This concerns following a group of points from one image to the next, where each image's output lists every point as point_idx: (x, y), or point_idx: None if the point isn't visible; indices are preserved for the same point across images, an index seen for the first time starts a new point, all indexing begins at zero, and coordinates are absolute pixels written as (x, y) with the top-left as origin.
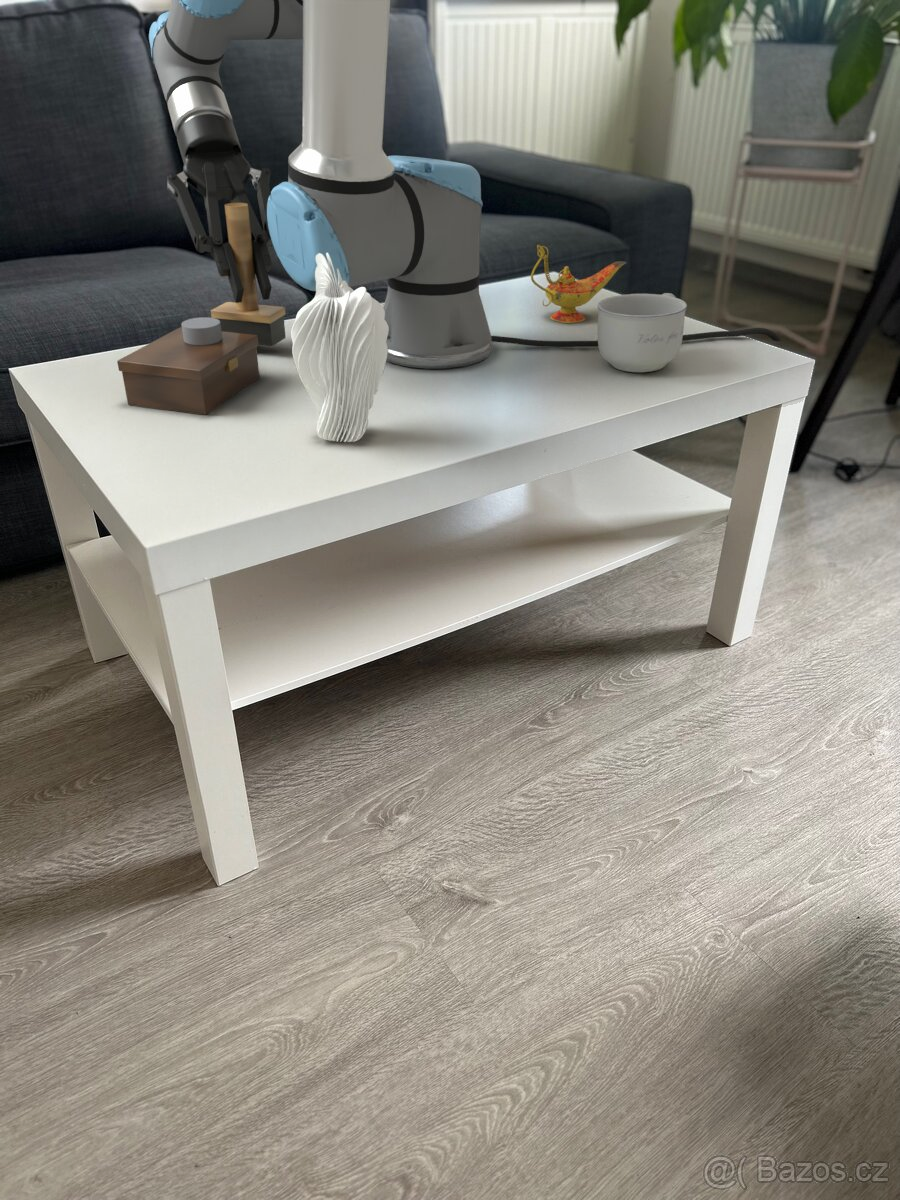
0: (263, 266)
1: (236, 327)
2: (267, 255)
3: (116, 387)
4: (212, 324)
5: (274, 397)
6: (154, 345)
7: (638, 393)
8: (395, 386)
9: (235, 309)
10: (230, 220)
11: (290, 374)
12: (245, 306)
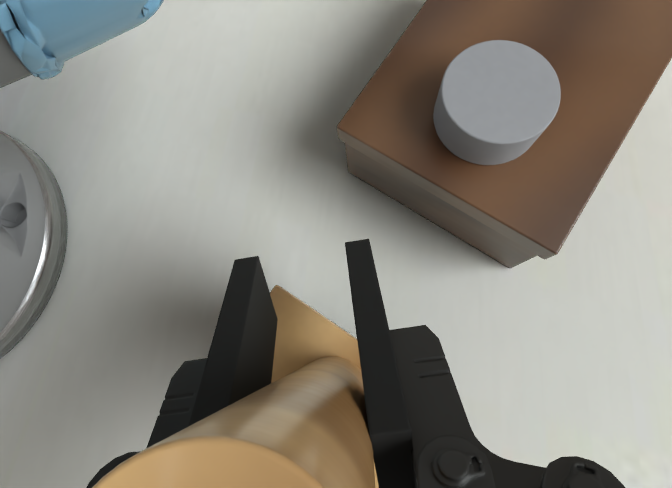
0: (225, 321)
1: None
2: (171, 411)
3: (669, 184)
4: (465, 66)
5: (333, 60)
6: (620, 96)
7: None
8: (103, 68)
9: None
10: (339, 439)
11: (280, 178)
12: (341, 358)
